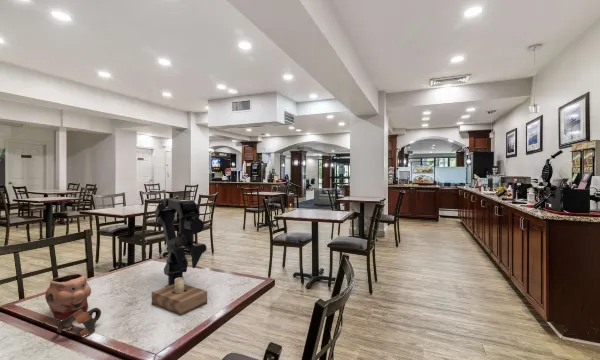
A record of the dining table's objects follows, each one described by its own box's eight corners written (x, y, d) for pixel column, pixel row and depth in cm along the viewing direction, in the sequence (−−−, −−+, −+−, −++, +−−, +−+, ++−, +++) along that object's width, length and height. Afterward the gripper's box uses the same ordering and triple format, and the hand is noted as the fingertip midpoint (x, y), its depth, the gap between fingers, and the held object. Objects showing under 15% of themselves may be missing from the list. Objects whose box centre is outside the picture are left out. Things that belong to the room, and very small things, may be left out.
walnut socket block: (151, 304, 116) (151, 291, 116) (178, 294, 126) (178, 282, 126) (180, 315, 106) (180, 301, 106) (207, 303, 117) (207, 291, 117)
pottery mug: (74, 345, 89) (59, 322, 88) (61, 351, 93) (47, 329, 92) (112, 318, 99) (98, 297, 99) (98, 324, 104) (86, 304, 103)
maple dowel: (172, 302, 116) (172, 279, 116) (180, 299, 119) (180, 276, 119) (178, 304, 114) (178, 281, 114) (186, 300, 117) (186, 278, 117)
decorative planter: (32, 316, 106) (31, 278, 106) (70, 303, 117) (69, 268, 117) (65, 328, 98) (64, 286, 98) (102, 312, 109) (102, 275, 109)
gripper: (155, 230, 124) (156, 267, 124) (184, 235, 114) (184, 275, 114) (179, 226, 133) (179, 261, 134) (207, 230, 124) (207, 267, 124)
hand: (186, 266), depth 126 cm, fingers open, 9 cm apart
